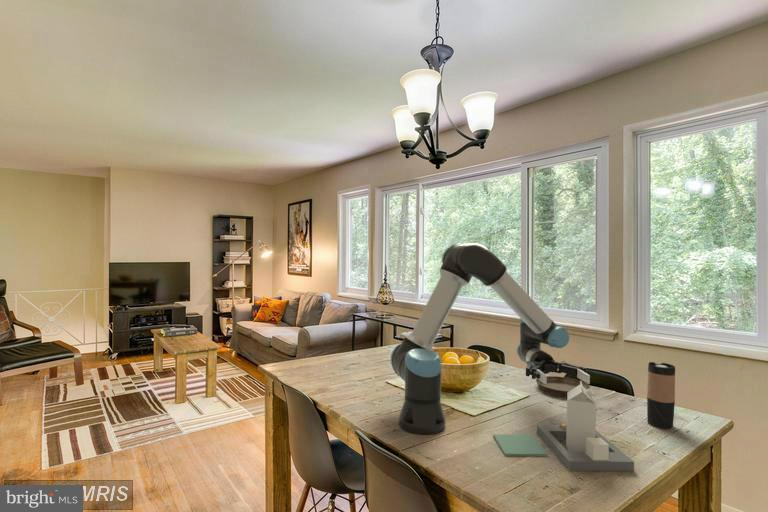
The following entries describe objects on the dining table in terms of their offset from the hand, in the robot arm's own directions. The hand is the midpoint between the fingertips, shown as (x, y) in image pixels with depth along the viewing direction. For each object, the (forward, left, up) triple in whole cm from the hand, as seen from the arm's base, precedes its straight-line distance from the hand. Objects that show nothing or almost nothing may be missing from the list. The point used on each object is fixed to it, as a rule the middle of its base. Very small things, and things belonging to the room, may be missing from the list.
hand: (567, 379), depth 128 cm
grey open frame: (0, -10, -17) cm, 20 cm away
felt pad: (-17, -8, -17) cm, 26 cm away
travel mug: (+36, +8, -17) cm, 40 cm away
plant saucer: (+18, +41, -18) cm, 48 cm away
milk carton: (0, -10, -17) cm, 20 cm away
